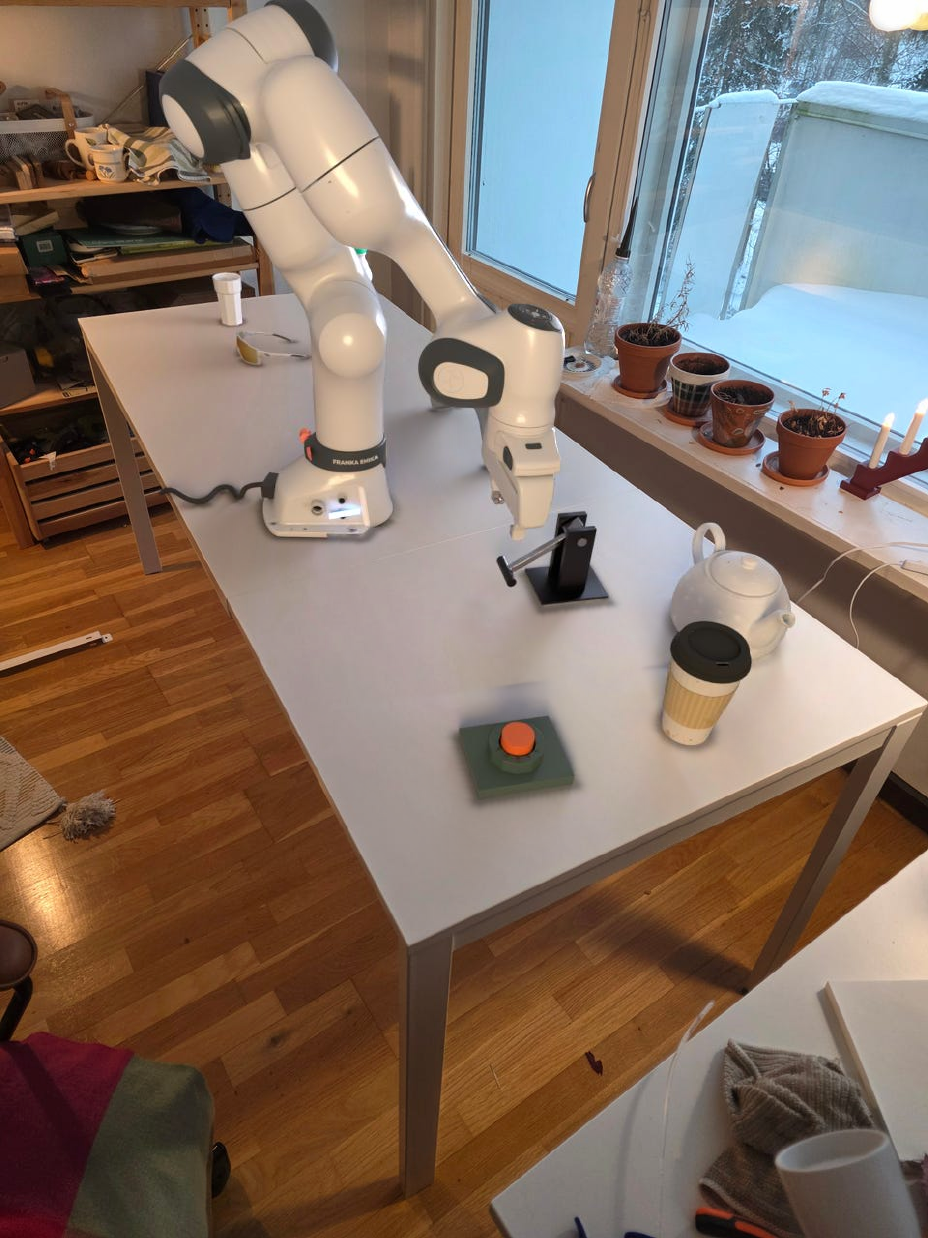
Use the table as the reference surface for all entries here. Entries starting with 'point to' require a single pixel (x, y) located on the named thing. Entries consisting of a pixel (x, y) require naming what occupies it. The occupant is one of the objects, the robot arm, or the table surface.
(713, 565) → the teapot
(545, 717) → the button box
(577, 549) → the lever stand
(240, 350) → the sunglasses
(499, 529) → the table surface
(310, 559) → the table surface
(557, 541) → the tap lever
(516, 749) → the button
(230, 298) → the cup
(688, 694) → the coffee cup
